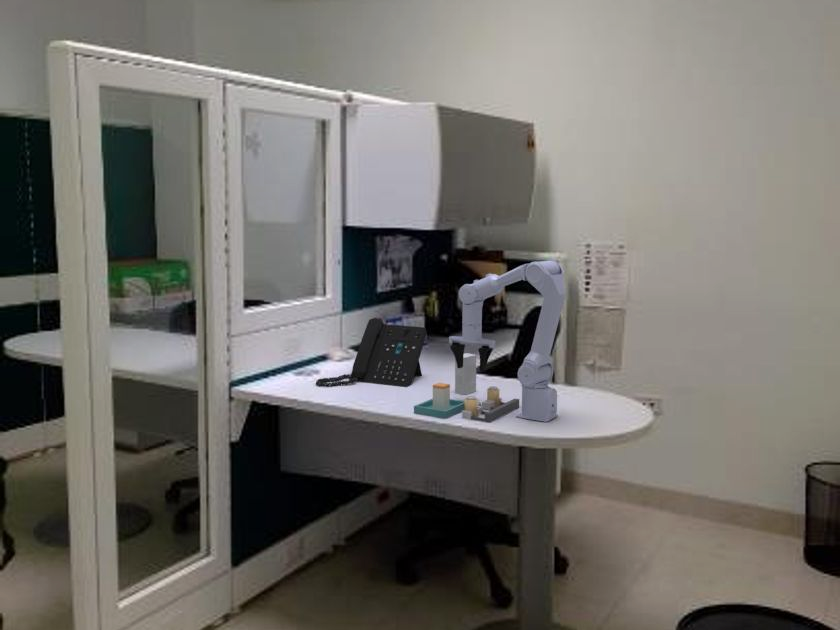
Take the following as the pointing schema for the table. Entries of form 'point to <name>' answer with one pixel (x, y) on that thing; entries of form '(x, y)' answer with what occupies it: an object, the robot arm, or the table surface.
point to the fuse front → (471, 405)
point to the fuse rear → (493, 395)
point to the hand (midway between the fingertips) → (471, 369)
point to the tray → (428, 410)
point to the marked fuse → (441, 396)
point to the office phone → (385, 355)
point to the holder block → (492, 410)
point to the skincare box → (466, 375)
